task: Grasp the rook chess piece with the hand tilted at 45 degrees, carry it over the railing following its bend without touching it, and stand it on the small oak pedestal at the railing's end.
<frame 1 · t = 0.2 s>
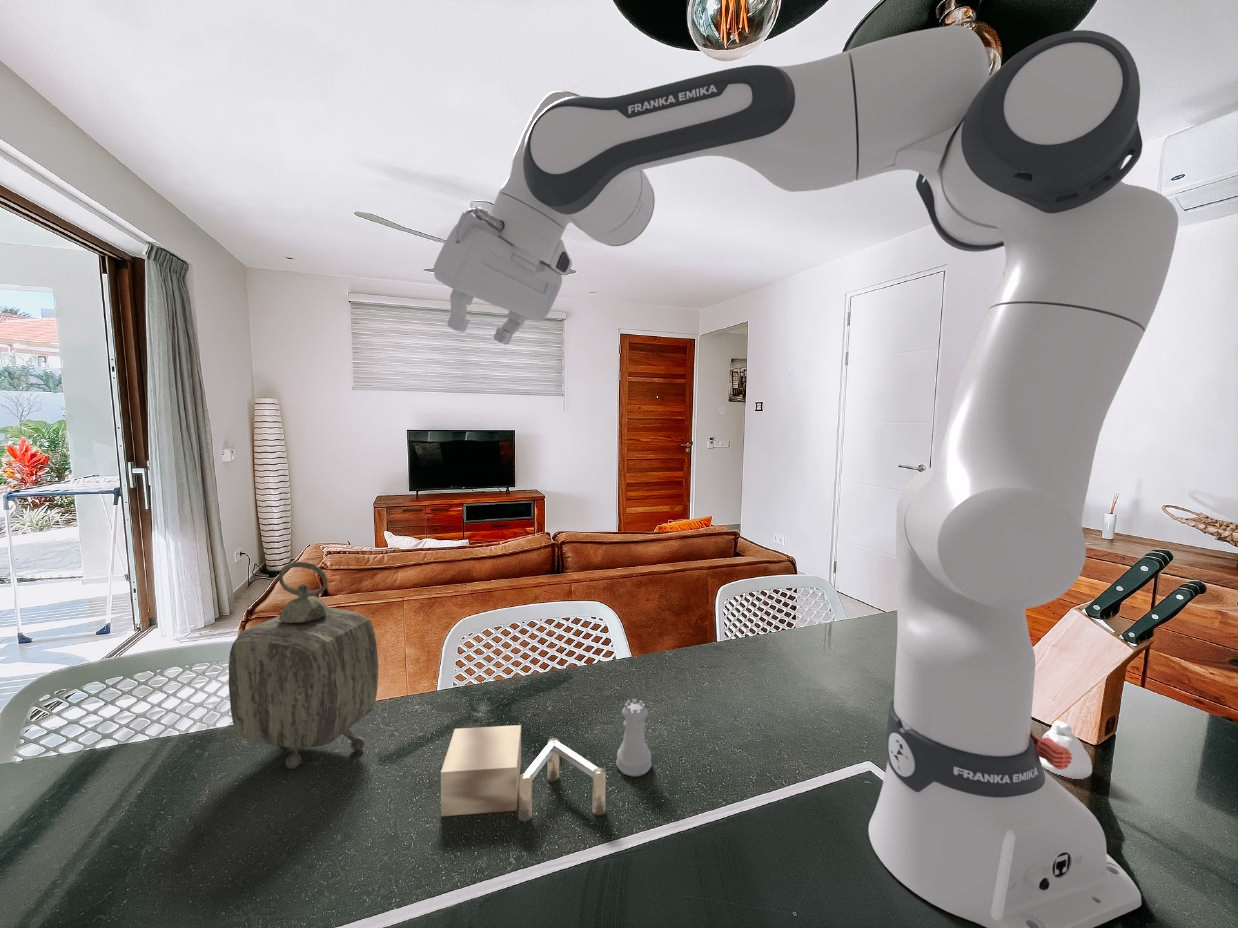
hand: (479, 336, 68), 54 cm above the kitchen island, tool tilted 30°, fingers open, 8 cm apart
pedestal: (484, 787, 60), on the kitchen island
rook chess piece: (633, 767, 65), on the kitchen island
tabletop clock: (306, 758, 65), on the kitchen island
railing: (553, 794, 59), on the kitchen island
garlic bulb: (1062, 770, 66), on the kitchen island
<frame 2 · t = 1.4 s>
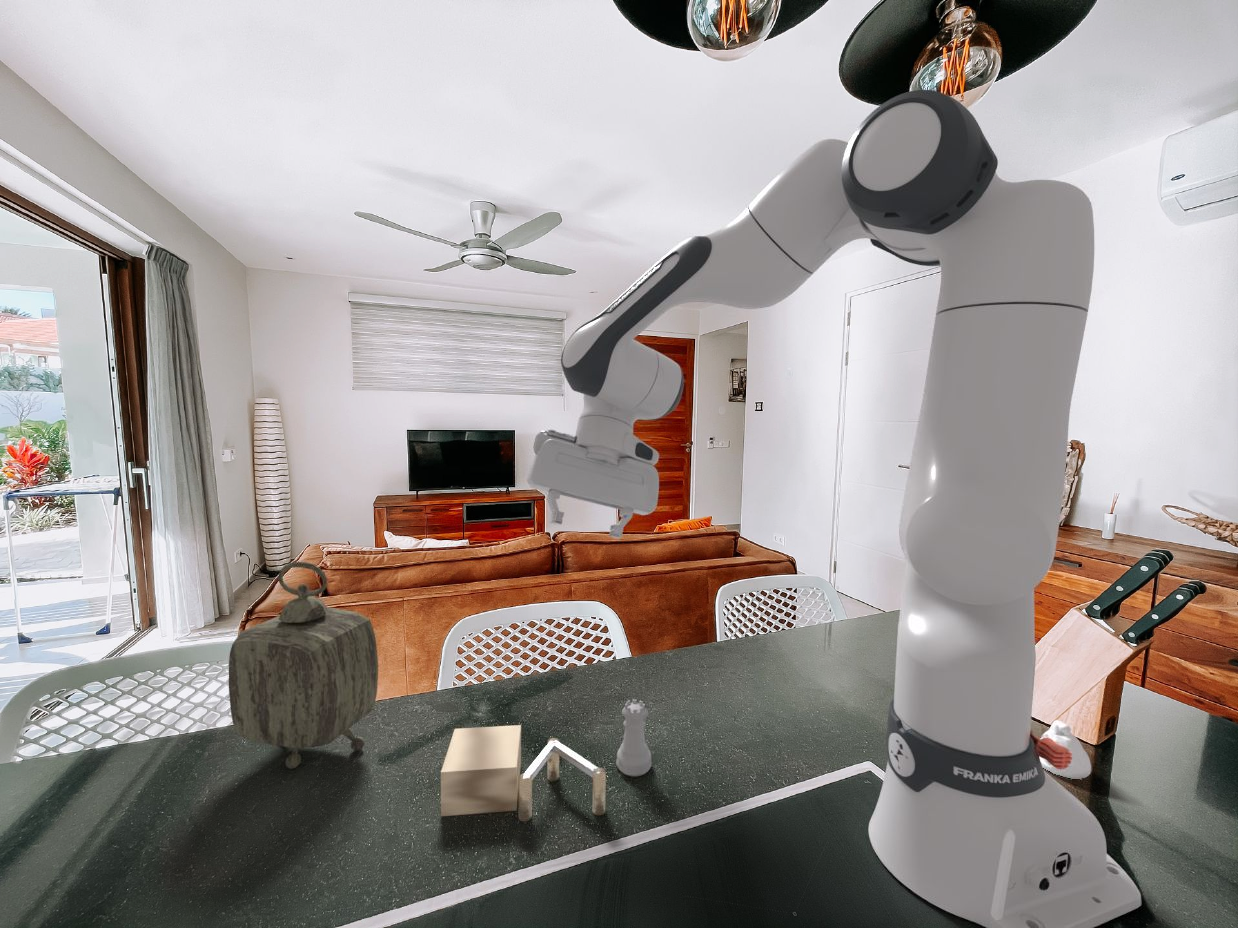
hand: (585, 530, 77), 27 cm above the kitchen island, tool tilted 20°, fingers open, 8 cm apart
nothing on the kitchen island moved.
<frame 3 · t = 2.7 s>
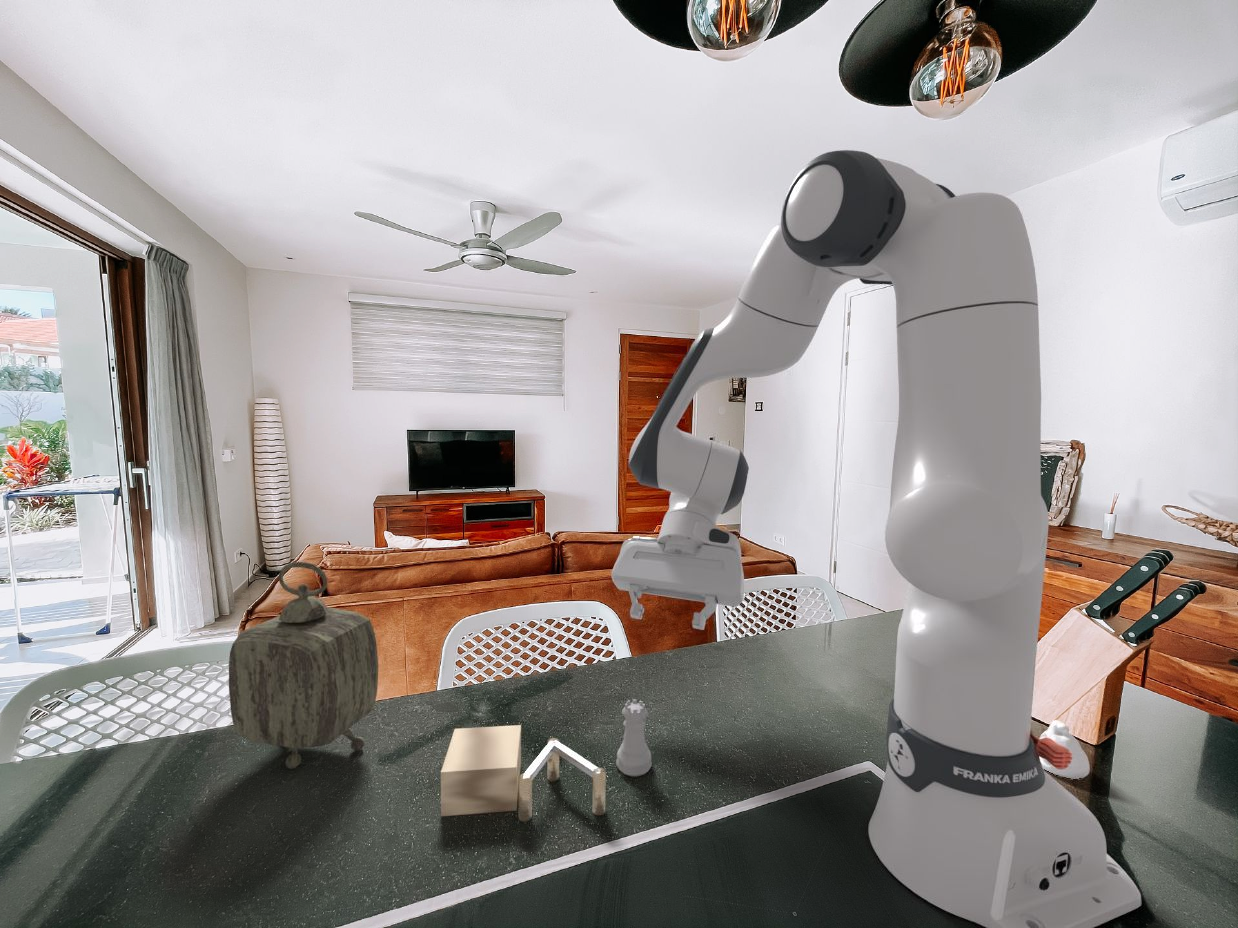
hand: (665, 622, 75), 14 cm above the kitchen island, tool tilted 45°, fingers open, 8 cm apart
nothing on the kitchen island moved.
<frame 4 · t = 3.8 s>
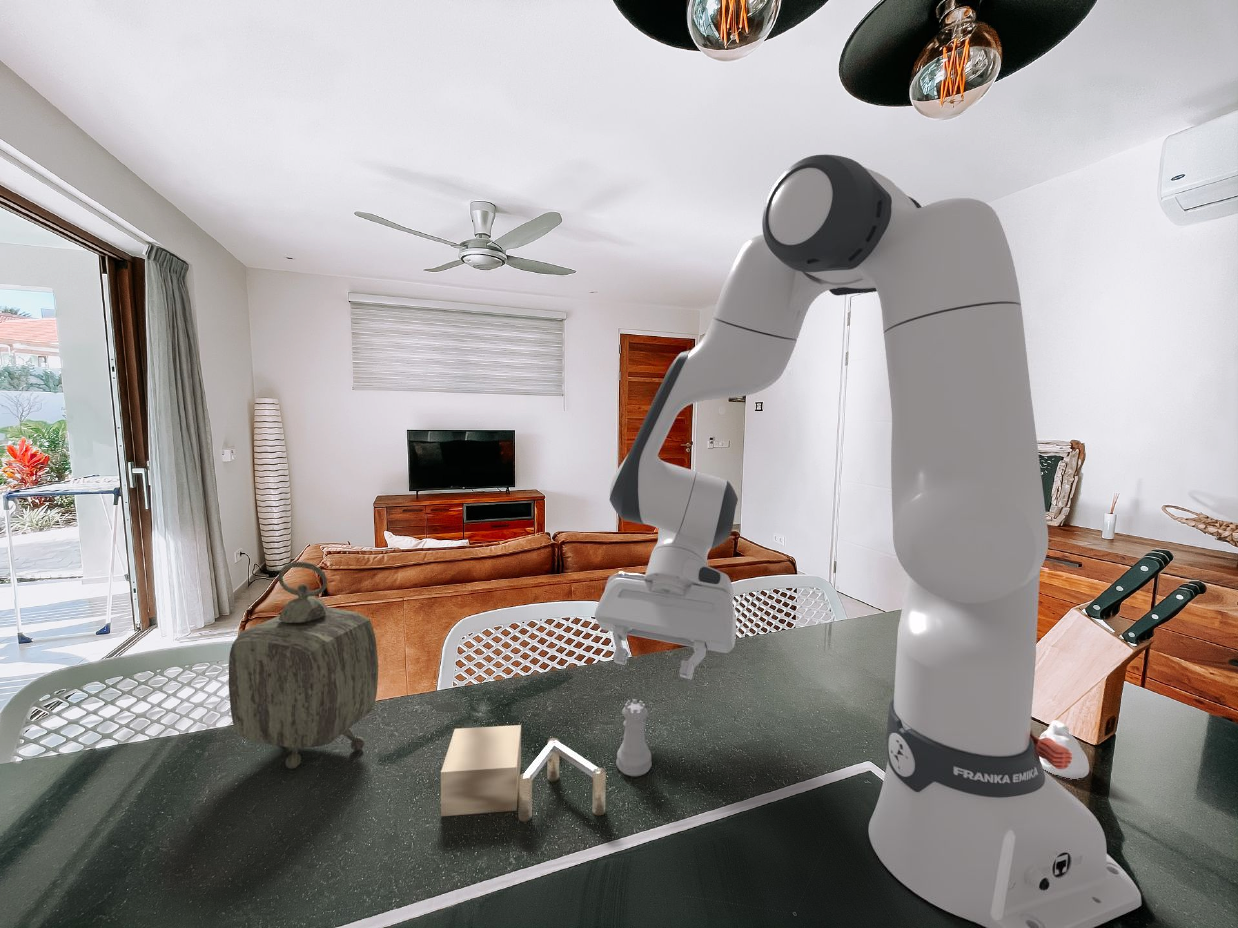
hand: (651, 669, 70), 10 cm above the kitchen island, tool tilted 45°, fingers open, 8 cm apart
nothing on the kitchen island moved.
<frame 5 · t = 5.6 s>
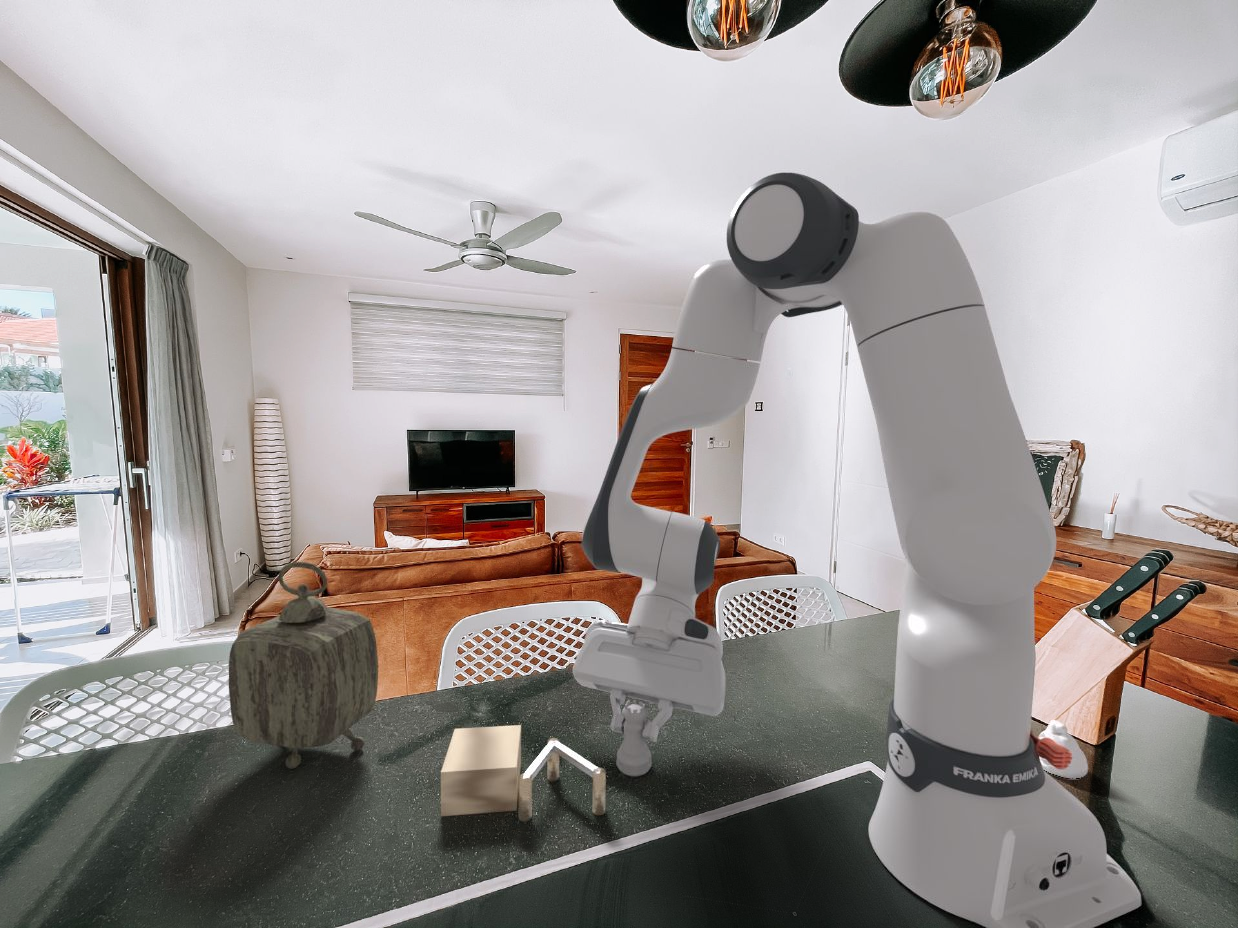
hand: (632, 735, 64), 4 cm above the kitchen island, tool tilted 45°, fingers closed on rook chess piece, 3 cm apart
rook chess piece: (633, 767, 65), on the kitchen island, touching gripper
everything else where it was.
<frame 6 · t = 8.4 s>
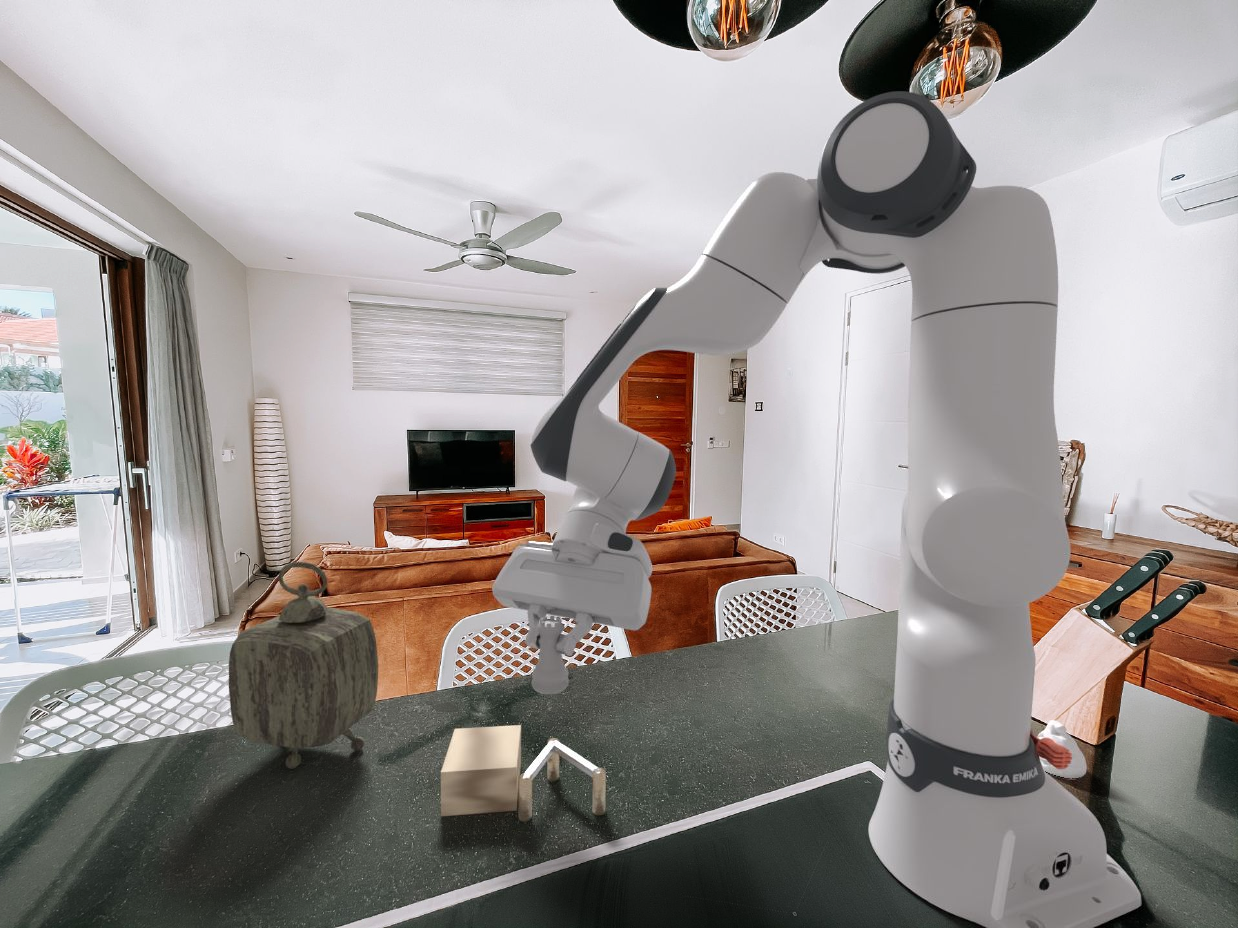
hand: (547, 649, 60), 16 cm above the kitchen island, tool tilted 45°, fingers closed on rook chess piece, 3 cm apart
rook chess piece: (550, 687, 61), point 12 cm above the kitchen island, touching gripper
everything else where it was.
when the fingers open (11 cm above the kitchen island, at t = 10.5 s): rook chess piece drops 1 cm, resting on pedestal.
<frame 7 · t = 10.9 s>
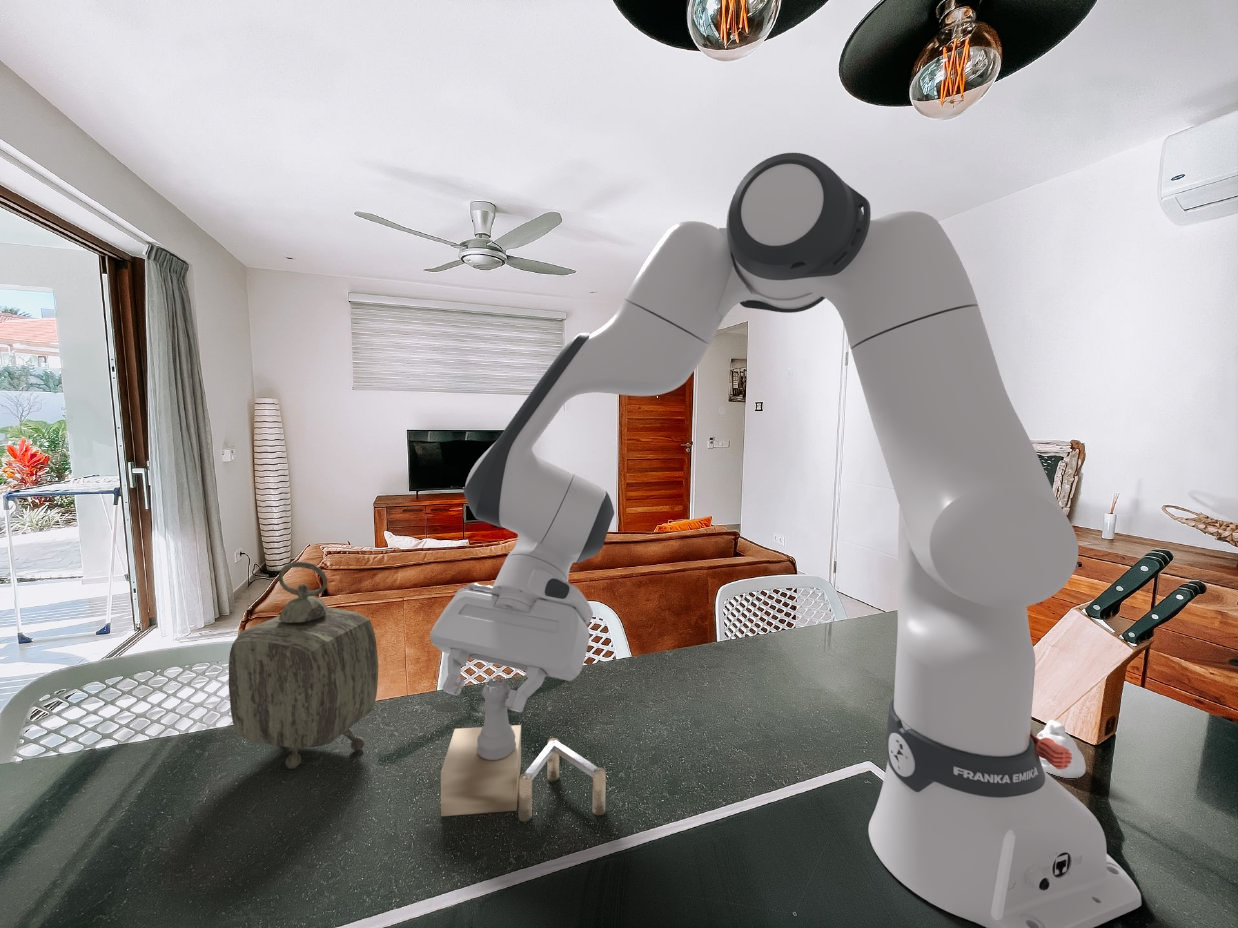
hand: (480, 700, 59), 11 cm above the kitchen island, tool tilted 45°, fingers open, 7 cm apart
rook chess piece: (496, 751, 59), point 5 cm above the kitchen island, touching pedestal
everything else where it was.
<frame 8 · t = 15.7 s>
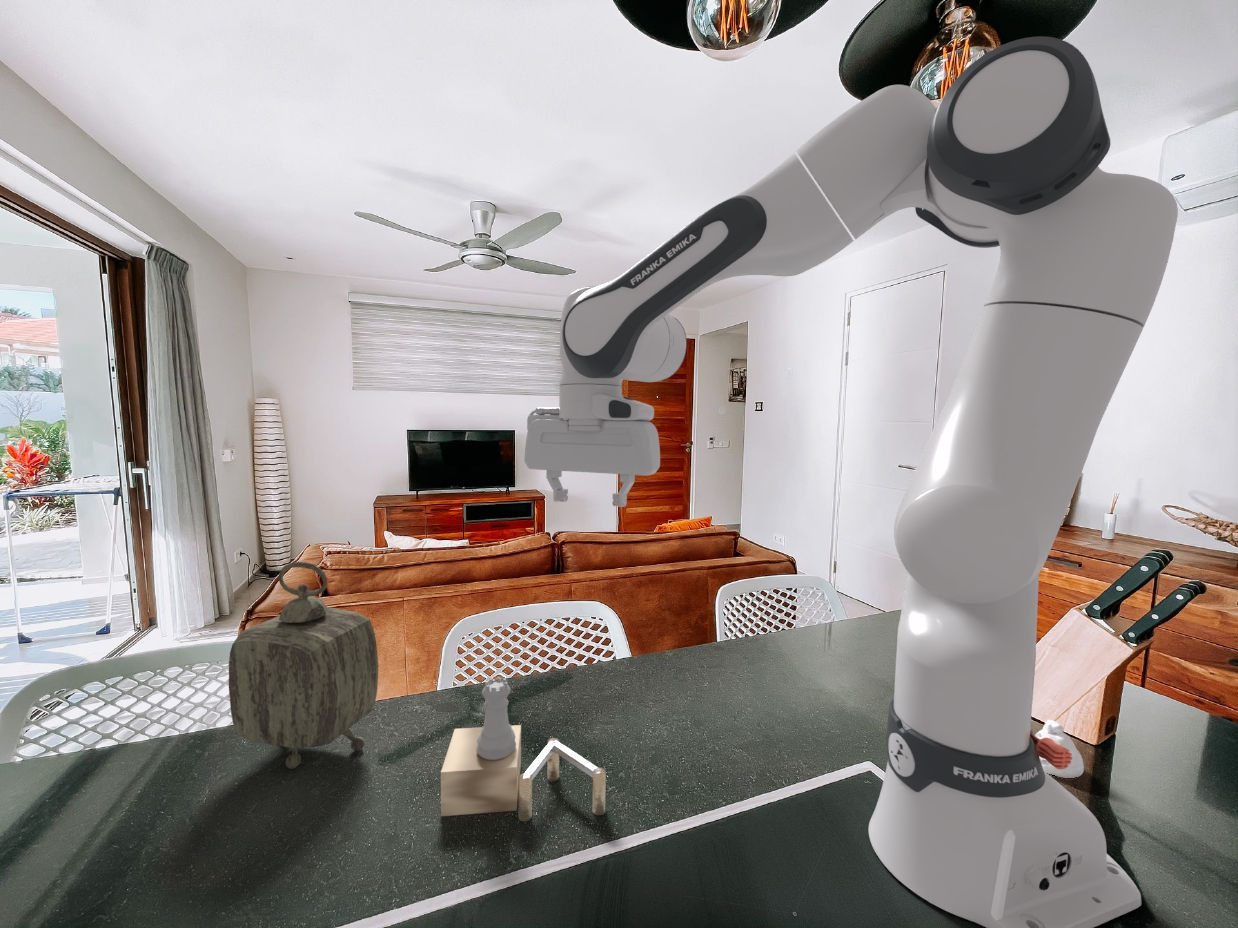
hand: (589, 503, 74), 31 cm above the kitchen island, tool pointing down, fingers open, 8 cm apart
nothing on the kitchen island moved.
at the end: rook chess piece inside the target area on the pedestal (1.7 cm from its centre), point 4.8 cm above the pedestal's base; rook chess piece tilted 0°; rook chess piece touching pedestal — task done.
